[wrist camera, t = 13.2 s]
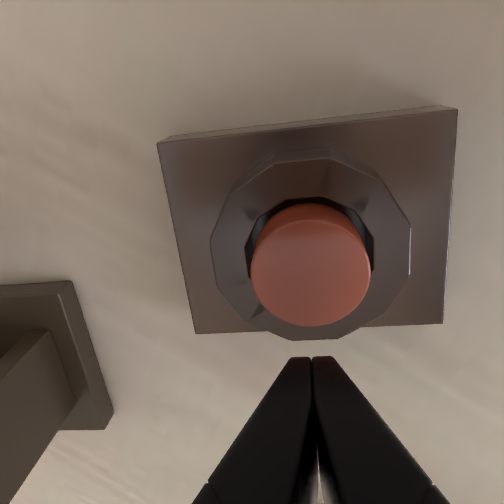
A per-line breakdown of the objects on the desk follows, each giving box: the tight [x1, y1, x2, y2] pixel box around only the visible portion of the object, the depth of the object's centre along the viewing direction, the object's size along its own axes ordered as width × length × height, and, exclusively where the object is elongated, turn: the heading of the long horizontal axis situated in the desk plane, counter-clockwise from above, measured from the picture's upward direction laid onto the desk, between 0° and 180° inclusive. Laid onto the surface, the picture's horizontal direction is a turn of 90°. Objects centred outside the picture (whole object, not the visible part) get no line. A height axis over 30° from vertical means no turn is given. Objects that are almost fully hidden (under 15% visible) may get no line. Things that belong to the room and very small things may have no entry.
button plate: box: [157, 105, 458, 341], centre depth 15 cm, size 10×8×4 cm
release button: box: [250, 203, 371, 326], centre depth 13 cm, size 4×4×2 cm
